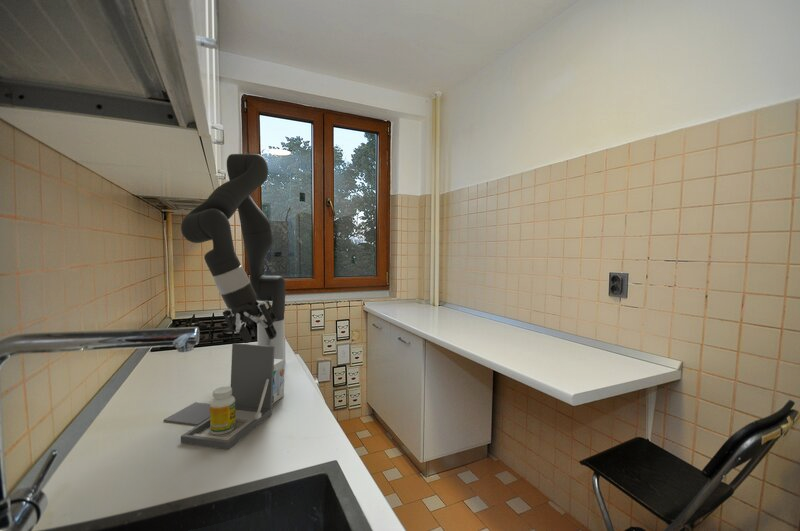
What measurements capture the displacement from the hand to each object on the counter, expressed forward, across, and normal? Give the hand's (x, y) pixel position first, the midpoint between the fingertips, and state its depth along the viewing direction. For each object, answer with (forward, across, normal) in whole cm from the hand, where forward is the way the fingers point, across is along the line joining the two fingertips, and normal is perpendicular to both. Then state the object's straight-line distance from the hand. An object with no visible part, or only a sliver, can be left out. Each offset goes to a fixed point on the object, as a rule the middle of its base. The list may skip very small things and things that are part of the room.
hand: (260, 339), depth 93 cm
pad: (+11, +16, +14) cm, 24 cm away
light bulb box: (+18, +5, +4) cm, 19 cm away
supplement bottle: (+13, +4, +18) cm, 23 cm away
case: (+13, +3, +17) cm, 22 cm away
